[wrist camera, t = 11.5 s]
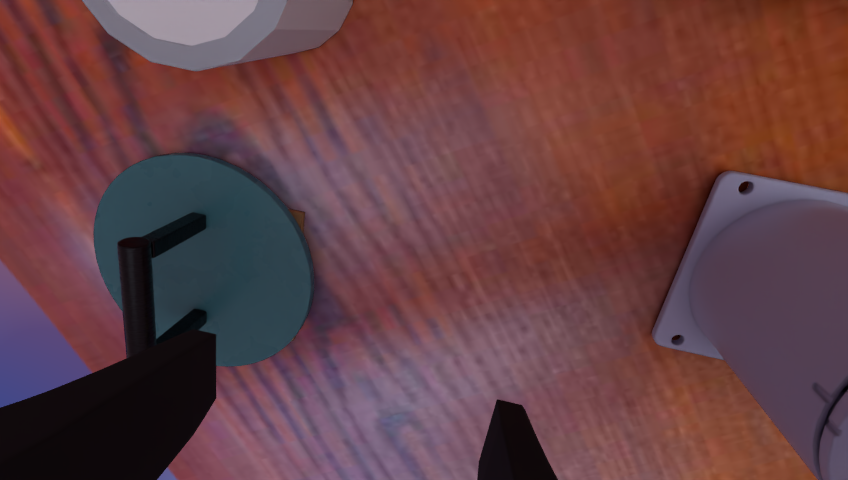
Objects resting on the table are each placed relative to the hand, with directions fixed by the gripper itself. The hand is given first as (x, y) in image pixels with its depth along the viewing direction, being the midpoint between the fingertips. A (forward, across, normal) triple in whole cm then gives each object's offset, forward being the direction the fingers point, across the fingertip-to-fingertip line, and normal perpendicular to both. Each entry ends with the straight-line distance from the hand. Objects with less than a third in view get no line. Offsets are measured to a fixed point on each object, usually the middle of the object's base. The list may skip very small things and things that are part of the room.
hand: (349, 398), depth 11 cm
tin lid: (+10, +10, +3) cm, 14 cm away
